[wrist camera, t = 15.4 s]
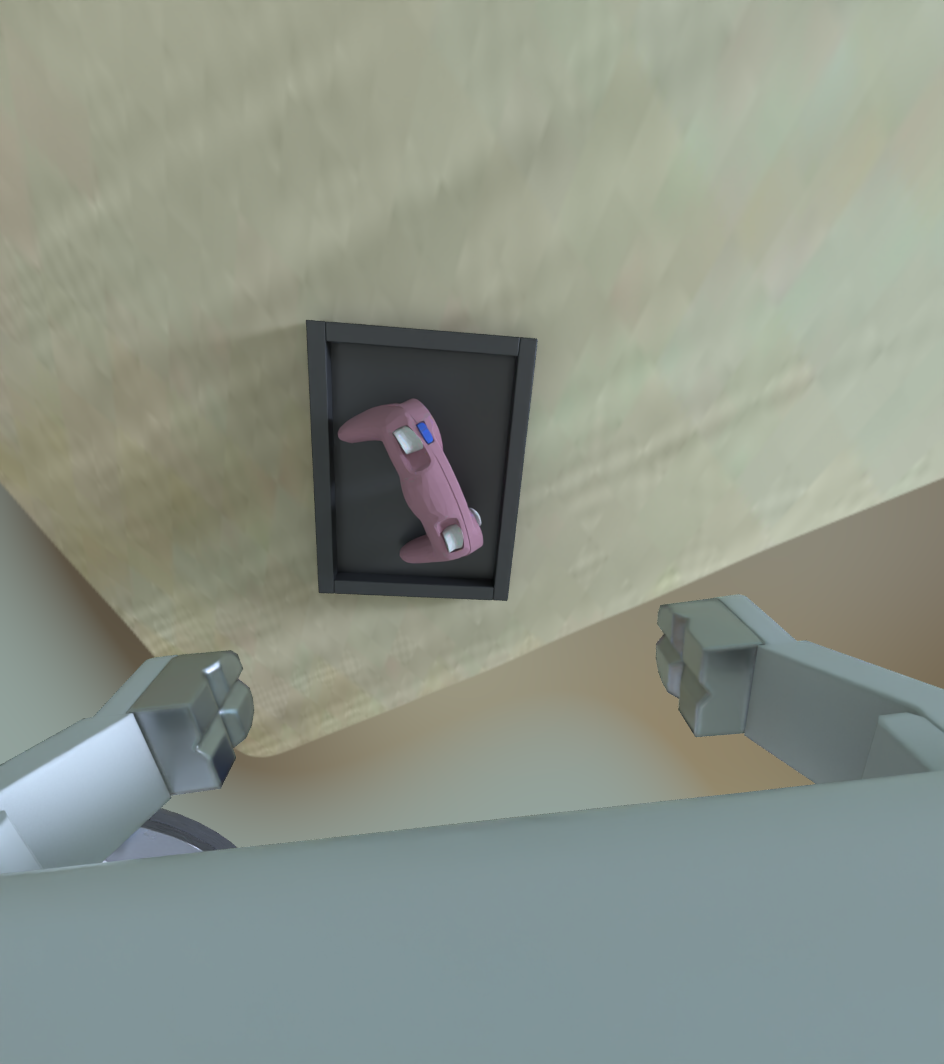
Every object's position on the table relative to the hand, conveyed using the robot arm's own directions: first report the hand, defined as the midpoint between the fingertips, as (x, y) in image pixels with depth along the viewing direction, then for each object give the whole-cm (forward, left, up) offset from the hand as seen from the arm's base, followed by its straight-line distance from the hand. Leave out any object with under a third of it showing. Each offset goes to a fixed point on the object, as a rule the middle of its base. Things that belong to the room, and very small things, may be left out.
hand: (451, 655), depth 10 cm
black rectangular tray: (-2, -2, -23) cm, 23 cm away
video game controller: (-2, -3, -22) cm, 22 cm away
